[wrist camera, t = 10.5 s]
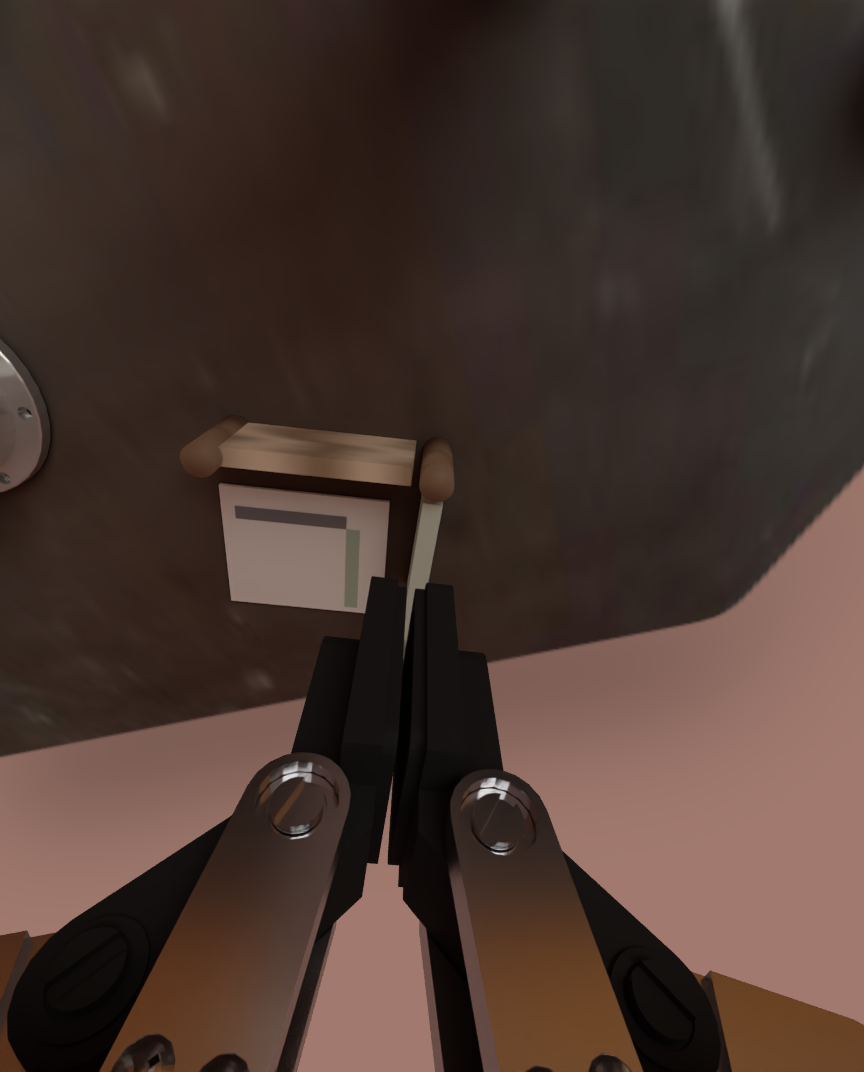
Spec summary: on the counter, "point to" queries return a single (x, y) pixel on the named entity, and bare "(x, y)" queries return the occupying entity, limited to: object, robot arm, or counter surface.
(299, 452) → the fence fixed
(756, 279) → the counter surface
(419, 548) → the cream flat slab
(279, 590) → the card
